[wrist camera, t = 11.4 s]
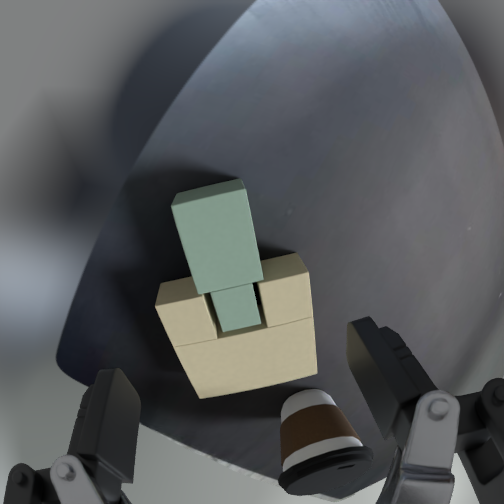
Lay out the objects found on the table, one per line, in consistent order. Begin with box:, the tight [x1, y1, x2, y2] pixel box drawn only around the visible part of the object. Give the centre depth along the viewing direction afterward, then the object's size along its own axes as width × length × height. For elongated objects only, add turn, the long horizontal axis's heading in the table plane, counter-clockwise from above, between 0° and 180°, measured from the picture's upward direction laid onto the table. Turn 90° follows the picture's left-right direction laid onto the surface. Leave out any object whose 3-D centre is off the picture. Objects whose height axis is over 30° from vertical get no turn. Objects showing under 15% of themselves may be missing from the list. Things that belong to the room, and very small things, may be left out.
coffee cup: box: [278, 389, 373, 496], centre depth 29 cm, size 11×11×12 cm
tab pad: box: [171, 179, 264, 332], centre depth 23 cm, size 11×5×4 cm, turn 10°
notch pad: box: [155, 253, 317, 399], centre depth 26 cm, size 12×12×4 cm
